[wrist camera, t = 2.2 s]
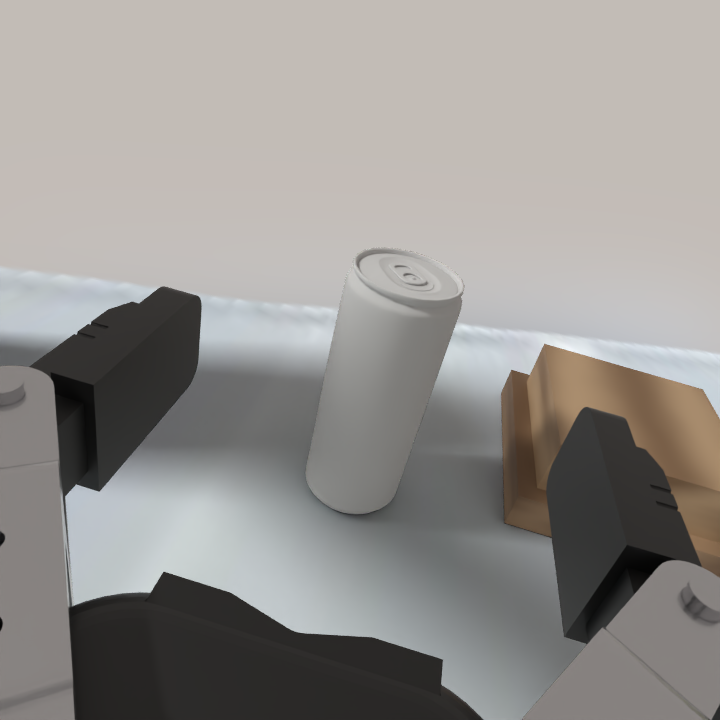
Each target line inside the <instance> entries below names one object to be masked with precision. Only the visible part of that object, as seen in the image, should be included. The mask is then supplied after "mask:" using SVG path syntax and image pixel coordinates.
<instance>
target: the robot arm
mask: <svg viewBox="0 0 720 720" xmlns="http://www.w3.org/2000/svg"><path fill="white" fill-rule="evenodd" d="M200 324H201V300H200V298H199V296H196V295H193V294H189V293H186V292H182V291H179V290H175V289H172V288H168V287H160V288H159V289H157V290H156V291H155V292H153V293H152V294H151V295H150V296H148V297H147V298H146V299H144V300H143V301H142V302H141V303H139V304H138V303H135V302H130V303H127V304H124V305H121V306H118V307H115V308H111V309H108V310H107V311H106V312H104V313H103V314H101V315H100V316H99V317H97V318H96V319H94V320H93V321H92V322H91V325H89V324H88V325H86V326H85V327H83V328H82V329H81V330H79V331H78V333H77V335H75V334H74V335H72V336H71V337H70V338H68V339H67V340H66V341H64V342H63V343H61V344H60V345H59V346H57V347H56V348H54V349H53V350H52V351H50V352H49V353H48V354H46V355H45V356H43V357H42V358H41V359H39V360H38V361H37V362H35V363H34V364H32V365H31V366H30V367H25V366H0V720H483V719H482V718H481V717H480V716H479V715H478V714H477V713H476V712H475V711H474V710H473V709H472V708H471V707H470V706H469V705H468V704H467V703H466V702H464V701H463V700H462V699H460V698H459V697H458V696H457V695H455V694H454V693H453V692H451V691H450V690H448V689H447V688H445V687H444V686H442V685H441V677H442V664H443V660H442V659H439V658H436V657H433V656H430V655H426V654H423V653H420V652H417V651H414V650H411V649H407V648H404V647H401V646H398V645H395V644H391V643H388V642H385V641H382V640H379V639H376V638H372V637H355V636H338V635H321V634H305V633H298V632H294V631H292V630H290V629H288V628H286V627H285V626H283V625H282V624H280V623H278V622H277V621H275V620H274V619H272V618H270V617H269V616H267V615H265V614H264V613H262V612H261V611H259V610H257V609H256V608H254V607H253V606H251V605H249V604H248V603H246V602H245V601H243V600H241V599H240V598H238V597H237V596H235V595H233V594H232V593H230V592H226V591H223V590H220V589H217V588H214V587H211V586H207V585H204V584H201V583H198V582H195V581H192V580H188V579H185V578H182V577H179V576H176V575H173V574H169V573H166V572H163V573H162V575H161V577H160V578H159V580H158V582H157V583H156V585H155V587H154V588H153V590H152V592H151V593H123V594H117V595H111V596H104V597H101V598H97V599H93V600H89V601H85V602H83V603H80V604H77V605H75V606H74V601H73V589H72V576H71V563H70V550H69V537H68V524H67V511H66V500H65V496H66V495H67V494H68V493H69V491H70V490H71V489H72V488H73V487H74V486H75V485H76V484H77V485H80V486H83V487H86V488H90V489H93V490H96V491H99V492H100V490H101V489H102V488H103V487H104V486H105V485H106V483H107V482H108V481H109V480H110V479H111V477H112V476H113V475H114V474H115V473H116V472H117V470H118V469H119V468H120V467H121V466H122V465H123V463H124V462H125V461H126V460H127V459H128V457H129V456H130V455H131V454H132V453H133V452H134V450H135V449H136V448H137V447H138V446H139V445H140V443H141V442H142V441H143V440H144V439H145V437H146V436H147V435H148V434H149V433H150V432H151V430H152V429H153V428H154V427H155V426H156V425H157V423H158V422H159V421H160V420H161V419H162V417H163V416H164V415H165V414H166V413H167V412H168V410H169V409H170V408H171V407H172V406H173V405H174V403H175V402H176V401H177V400H178V399H179V397H180V396H181V395H182V394H183V393H184V392H185V390H186V389H187V388H188V387H189V385H190V384H191V382H192V380H193V377H194V375H195V372H196V369H197V364H198V356H199V340H200ZM671 491H672V490H671V488H670V485H669V483H668V480H667V478H666V475H665V473H664V470H663V469H662V468H661V467H660V465H659V464H658V463H657V462H656V461H655V460H654V458H653V457H652V456H651V455H650V454H649V453H648V451H647V450H646V449H643V448H640V447H636V444H635V441H634V439H633V436H632V433H631V430H630V427H629V425H628V422H627V420H626V419H625V418H624V417H622V416H618V415H615V414H611V413H607V412H604V411H600V410H597V409H593V408H590V407H584V408H583V409H582V410H581V411H580V412H579V414H578V416H577V417H576V419H575V421H574V423H573V425H572V427H571V429H570V431H569V433H568V435H567V437H566V439H565V440H564V442H563V444H562V446H561V448H560V450H559V452H558V454H557V456H556V458H555V460H554V462H553V464H552V466H551V469H550V472H549V475H548V480H547V487H546V495H547V503H548V511H549V519H550V527H551V535H552V543H553V551H554V559H555V567H556V575H557V583H558V591H559V600H560V608H561V616H562V624H563V632H564V637H567V638H570V639H573V640H576V641H580V642H583V643H586V644H587V645H586V646H585V648H584V649H583V650H582V651H581V652H580V653H579V654H578V656H577V657H576V658H575V659H574V660H573V661H572V662H571V664H570V665H569V666H568V667H567V668H566V669H565V670H564V672H563V673H562V674H561V675H560V676H559V677H558V678H557V680H556V681H555V682H554V683H553V684H552V685H551V686H550V688H549V689H548V690H547V691H546V692H545V693H544V694H543V696H542V697H541V698H540V699H539V700H538V701H537V702H536V704H535V705H534V706H533V707H532V708H531V709H530V710H529V712H528V713H527V714H526V715H525V716H524V717H523V718H522V720H720V578H719V577H718V576H716V575H715V574H713V573H712V572H710V571H708V570H706V569H704V568H702V565H701V563H700V560H699V558H698V555H697V553H696V550H695V548H694V545H693V543H692V540H691V538H690V535H689V533H688V530H687V528H686V525H685V523H684V520H683V518H682V515H681V513H680V512H679V511H678V505H677V503H676V500H675V498H674V495H673V494H671Z"/></svg>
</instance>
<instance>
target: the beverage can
mask: <svg viewBox="0 0 720 720" xmlns="http://www.w3.org/2000/svg"><path fill="white" fill-rule="evenodd" d="M463 291H464V284H463V281H462V279H461V278H460V277H459V276H458V274H457V273H456V272H454V271H453V270H451V269H450V268H449V267H448V266H446V265H444V264H442V263H440V262H439V261H437V260H434V259H432V258H430V257H427V256H425V255H422V254H418V253H415V252H412V251H406V250H401V249H393V248H371V249H367V250H363V251H361V252H360V253H358V254H357V255H356V256H355V258H354V259H353V267H351V269H350V270H349V272H348V274H347V276H346V279H345V284H344V288H343V293H342V297H341V302H340V306H339V311H338V315H337V320H336V325H335V329H334V334H333V338H332V343H331V347H330V352H329V357H328V361H327V366H326V371H325V375H324V380H323V385H322V391H321V396H320V401H319V406H318V411H317V417H316V422H315V427H314V432H313V436H312V441H311V446H310V450H309V455H308V460H307V464H306V471H305V475H306V480H307V484H308V486H309V487H310V489H311V491H312V492H313V494H314V495H315V496H316V497H317V498H318V499H319V500H320V501H321V502H322V503H324V504H325V505H327V506H328V507H330V508H332V509H334V510H337V511H340V512H342V513H348V514H366V513H370V512H373V511H376V510H379V509H381V508H383V507H384V506H386V505H387V504H388V503H390V501H391V500H392V499H393V497H394V496H395V494H396V492H397V489H398V486H399V483H400V480H401V477H402V475H403V472H404V469H405V466H406V463H407V460H408V458H409V455H410V452H411V449H412V446H413V443H414V441H415V438H416V435H417V432H418V429H419V426H420V424H421V421H422V418H423V415H424V412H425V410H426V407H427V404H428V401H429V398H430V395H431V393H432V390H433V387H434V384H435V381H436V378H437V376H438V373H439V370H440V367H441V364H442V361H443V359H444V356H445V353H446V350H447V347H448V344H449V342H450V339H451V336H452V333H453V330H454V328H455V325H456V322H457V319H458V316H459V313H460V310H461V305H462V300H461V296H462V294H463Z"/></svg>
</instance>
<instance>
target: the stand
mask: <svg viewBox="0 0 720 720" xmlns="http://www.w3.org/2000/svg"><path fill="white" fill-rule="evenodd" d="M501 405H502V445H503V485H504V523H506V524H509V525H513V526H516V527H519V528H523V529H526V530H529V531H532V532H536V533H539V534H542V535H545V536H549V537H552V535H551V527H550V519H549V511H548V503H547V495H546V487H547V480H548V475H549V472H550V469H551V466H552V464H553V462H554V460H555V458H556V456H557V454H558V452H559V450H560V448H561V446H562V444H563V442H564V440H565V439H566V437H567V435H568V433H569V431H570V429H571V427H572V425H573V423H574V421H575V419H576V417H577V416H578V414H579V412H580V411H581V410H582V409H583V408H584V407H590V408H593V409H597V410H600V411H604V412H607V413H611V414H615V415H618V416H622V417H624V418H625V419H626V420H627V422H628V425H629V427H630V430H631V433H632V436H633V439H634V441H635V444H636V447H640V448H643V449H646V450H647V451H648V453H649V454H650V455H651V456H652V457H653V458H654V460H655V461H656V462H657V463H658V464H659V465H660V467H661V468H662V469H663V470H664V473H665V475H666V478H667V480H668V483H669V485H670V488H671V490H672V491H671V494H673V495H674V498H675V500H676V503H677V505H678V511H679V512H680V513H681V515H682V518H683V520H684V523H685V525H686V528H687V530H688V533H689V535H690V538H691V540H692V543H693V545H694V548H695V550H696V553H697V555H698V558H699V560H700V563H701V565H702V568H704V569H706V570H708V571H710V572H712V573H713V574H715V575H716V576H718V577H719V578H720V419H719V417H718V415H717V414H716V412H715V410H714V408H713V407H712V405H711V403H710V401H709V400H708V398H707V396H706V394H705V393H704V391H703V389H699V388H696V387H692V386H689V385H685V384H682V383H678V382H675V381H671V380H668V379H664V378H661V377H658V376H654V375H651V374H647V373H644V372H640V371H637V370H633V369H630V368H626V367H623V366H619V365H616V364H612V363H609V362H605V361H602V360H598V359H595V358H592V357H588V356H585V355H581V354H578V353H574V352H571V351H567V350H564V349H560V348H557V347H553V346H550V345H546V344H544V346H543V348H542V350H541V352H540V355H539V357H538V359H537V361H536V363H535V365H534V368H533V370H532V372H531V374H530V375H527V374H524V373H520V372H517V371H514V370H511V372H510V374H509V377H508V379H507V381H506V384H505V386H504V388H503V390H502V393H501Z"/></svg>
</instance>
